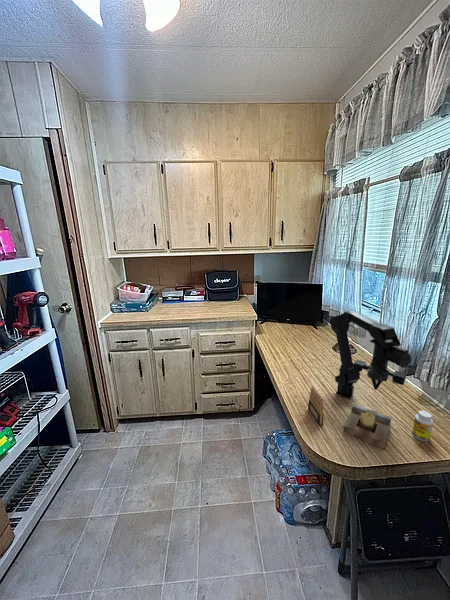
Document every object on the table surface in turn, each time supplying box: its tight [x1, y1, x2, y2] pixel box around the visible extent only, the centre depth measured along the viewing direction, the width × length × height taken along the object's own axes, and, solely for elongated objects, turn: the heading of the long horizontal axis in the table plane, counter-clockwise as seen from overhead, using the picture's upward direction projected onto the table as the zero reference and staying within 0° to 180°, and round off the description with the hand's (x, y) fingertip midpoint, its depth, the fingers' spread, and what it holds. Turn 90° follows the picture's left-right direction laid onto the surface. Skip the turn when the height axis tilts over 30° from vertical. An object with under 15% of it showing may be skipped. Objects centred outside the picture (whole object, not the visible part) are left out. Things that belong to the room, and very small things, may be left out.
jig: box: [342, 403, 392, 450], centre depth 103 cm, size 14×14×5 cm
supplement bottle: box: [411, 410, 434, 442], centre depth 98 cm, size 6×6×10 cm
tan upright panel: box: [307, 386, 325, 426], centre depth 110 cm, size 11×2×12 cm, turn 6°
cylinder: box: [359, 410, 375, 433], centre depth 102 cm, size 5×5×8 cm
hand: (375, 389), depth 109 cm, fingers closed
